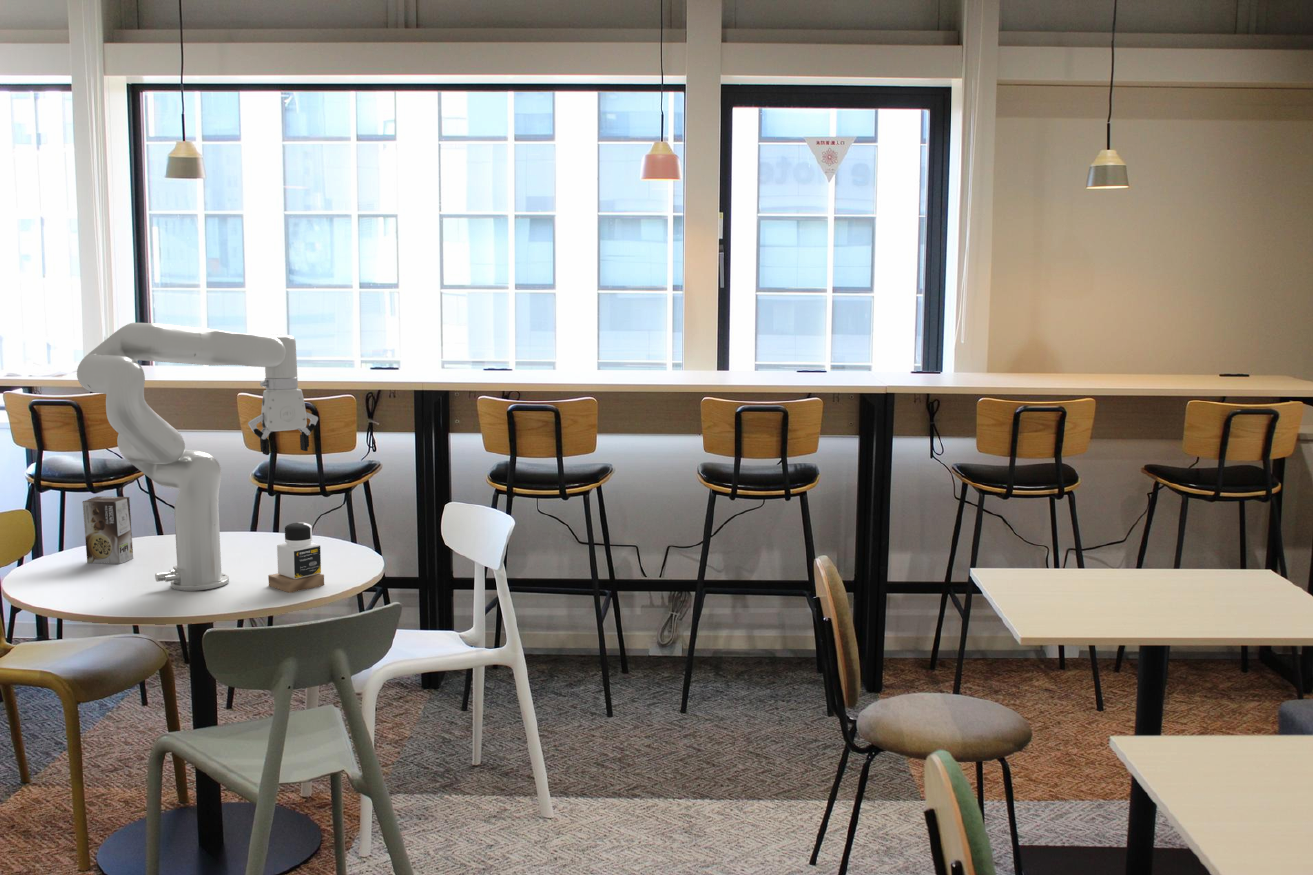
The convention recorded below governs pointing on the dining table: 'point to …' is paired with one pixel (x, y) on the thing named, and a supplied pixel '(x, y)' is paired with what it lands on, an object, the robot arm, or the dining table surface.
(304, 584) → the walnut riser block
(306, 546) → the medicine bottle
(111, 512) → the coffee box
